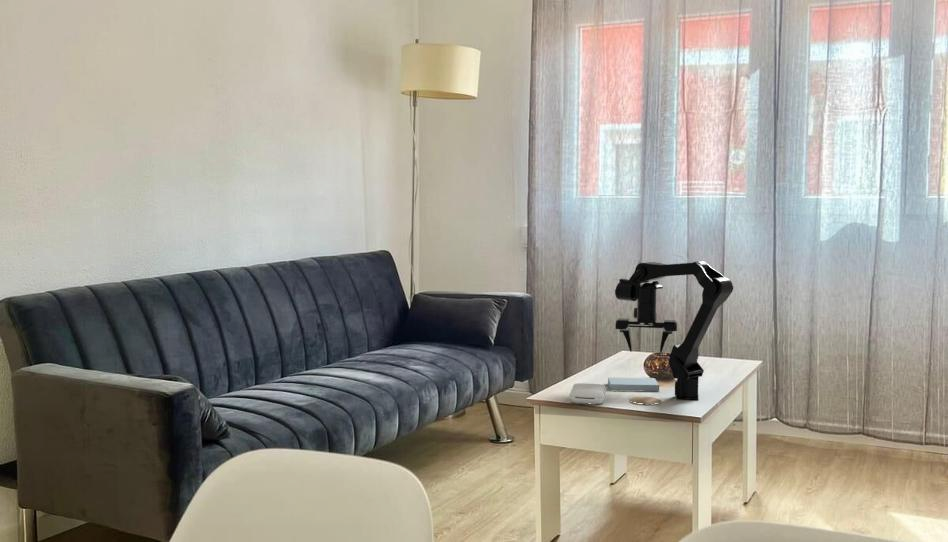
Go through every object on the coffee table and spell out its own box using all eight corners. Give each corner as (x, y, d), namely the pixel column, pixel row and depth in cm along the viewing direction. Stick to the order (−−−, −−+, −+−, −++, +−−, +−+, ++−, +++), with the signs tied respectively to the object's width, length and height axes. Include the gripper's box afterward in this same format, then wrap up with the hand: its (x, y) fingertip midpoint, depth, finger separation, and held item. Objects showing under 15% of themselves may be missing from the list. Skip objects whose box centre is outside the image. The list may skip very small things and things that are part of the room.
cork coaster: (661, 399, 276) (661, 397, 276) (660, 405, 267) (660, 403, 267) (631, 397, 278) (631, 395, 278) (628, 404, 269) (628, 402, 269)
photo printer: (606, 383, 278) (604, 391, 266) (606, 397, 278) (603, 406, 266) (572, 381, 280) (568, 390, 268) (572, 395, 280) (568, 404, 268)
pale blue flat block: (654, 384, 298) (654, 378, 298) (659, 391, 287) (659, 385, 287) (607, 383, 299) (608, 377, 299) (610, 390, 288) (610, 384, 288)
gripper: (678, 300, 293) (677, 349, 294) (618, 298, 297) (618, 346, 298) (677, 304, 282) (676, 355, 283) (615, 302, 286) (614, 352, 288)
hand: (645, 352), depth 288 cm, fingers open, 9 cm apart
